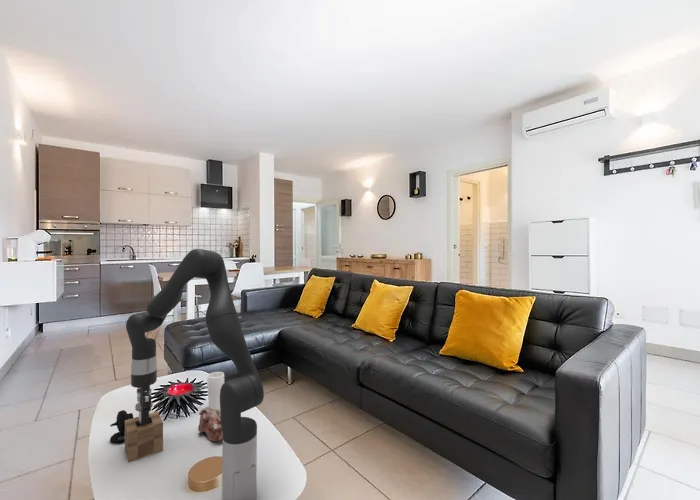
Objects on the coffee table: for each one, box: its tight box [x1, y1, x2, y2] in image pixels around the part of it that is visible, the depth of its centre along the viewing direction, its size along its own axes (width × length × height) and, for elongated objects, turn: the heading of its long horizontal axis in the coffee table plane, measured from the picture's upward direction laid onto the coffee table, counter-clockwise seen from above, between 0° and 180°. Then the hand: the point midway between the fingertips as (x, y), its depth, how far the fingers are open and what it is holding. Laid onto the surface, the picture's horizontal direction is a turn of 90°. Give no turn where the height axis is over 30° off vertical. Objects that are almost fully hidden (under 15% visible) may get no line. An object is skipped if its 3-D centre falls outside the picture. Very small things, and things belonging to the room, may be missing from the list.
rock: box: [197, 406, 223, 443], centre depth 123 cm, size 16×11×15 cm
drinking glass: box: [206, 371, 225, 410], centre depth 141 cm, size 7×7×15 cm
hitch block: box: [124, 411, 164, 463], centre depth 113 cm, size 10×10×10 cm
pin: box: [134, 400, 153, 426], centre depth 113 cm, size 5×5×10 cm
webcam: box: [109, 410, 134, 445], centre depth 119 cm, size 8×8×10 cm
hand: (143, 418), depth 113 cm, fingers closed on pin, 4 cm apart
